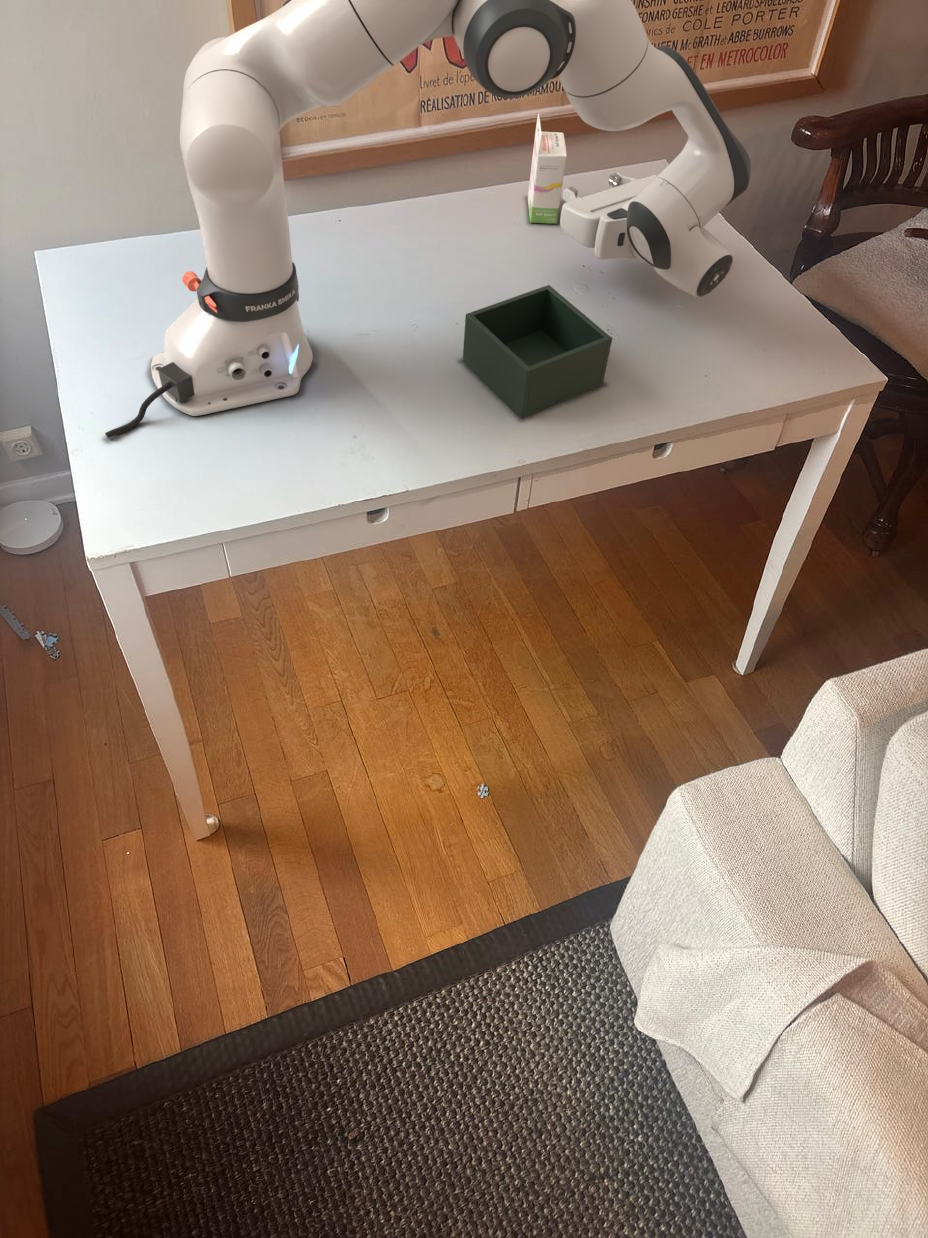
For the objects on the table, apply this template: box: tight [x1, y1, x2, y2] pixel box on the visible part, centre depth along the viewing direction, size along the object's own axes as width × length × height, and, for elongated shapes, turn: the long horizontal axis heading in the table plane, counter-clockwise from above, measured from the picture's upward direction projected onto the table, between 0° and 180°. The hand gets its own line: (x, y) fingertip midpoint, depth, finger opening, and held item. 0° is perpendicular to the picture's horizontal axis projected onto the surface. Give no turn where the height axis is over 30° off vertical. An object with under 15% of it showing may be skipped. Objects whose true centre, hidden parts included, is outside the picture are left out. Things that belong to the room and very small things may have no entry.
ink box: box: [527, 113, 568, 225], centre depth 161 cm, size 9×5×15 cm, turn 0°
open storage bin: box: [462, 284, 613, 419], centre depth 136 cm, size 15×15×8 cm
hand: (589, 184), depth 154 cm, fingers open, 8 cm apart
